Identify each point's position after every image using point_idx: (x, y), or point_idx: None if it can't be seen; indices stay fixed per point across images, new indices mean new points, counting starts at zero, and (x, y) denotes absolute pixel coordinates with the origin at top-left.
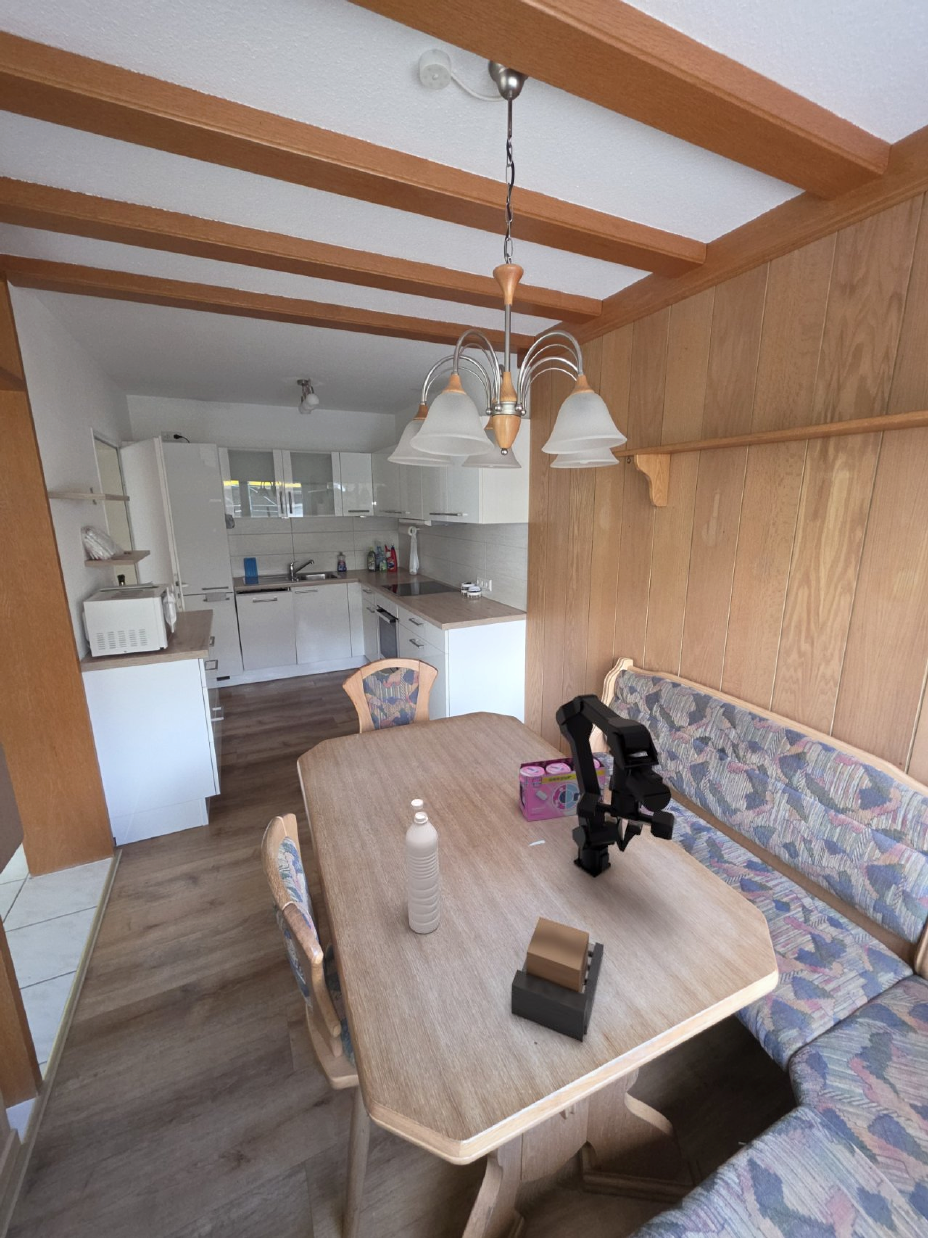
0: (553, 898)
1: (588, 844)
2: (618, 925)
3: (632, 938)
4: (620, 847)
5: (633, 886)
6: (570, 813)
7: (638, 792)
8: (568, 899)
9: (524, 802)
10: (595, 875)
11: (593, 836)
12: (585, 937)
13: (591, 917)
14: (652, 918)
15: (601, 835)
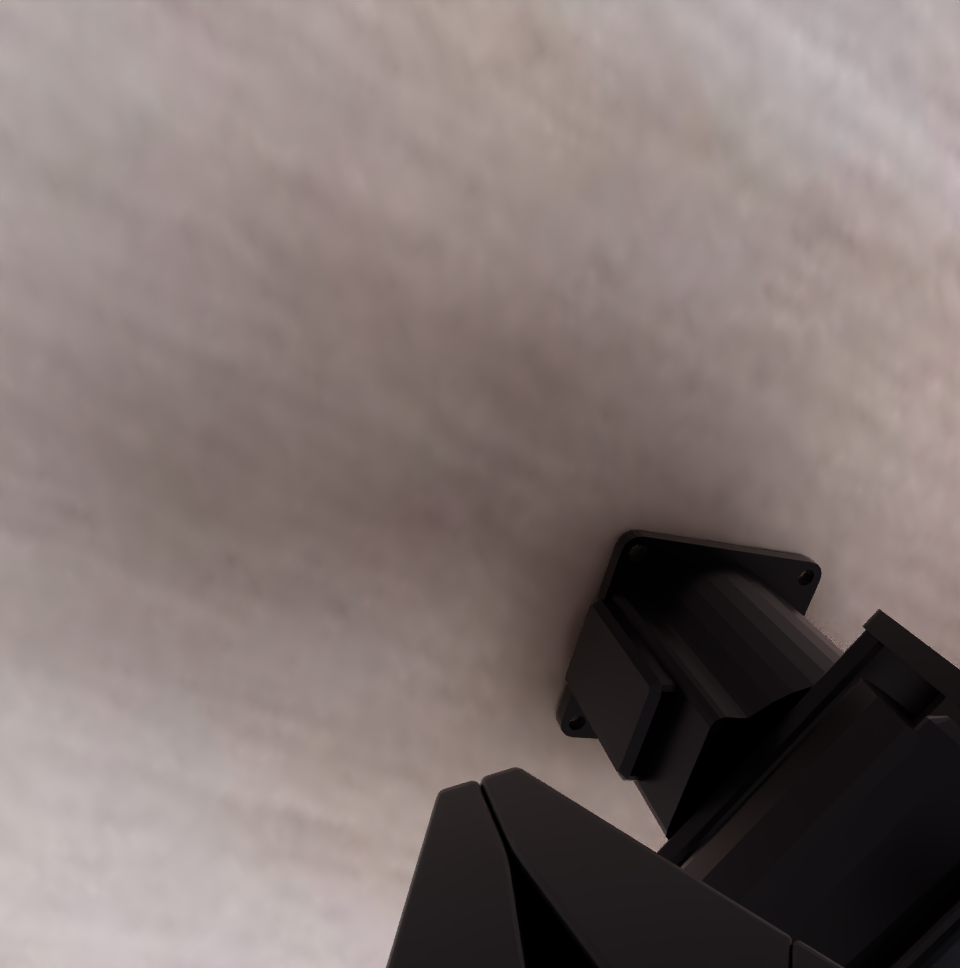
0: (845, 86)
1: (882, 694)
2: (229, 148)
3: (35, 66)
4: (533, 833)
5: (327, 656)
6: None
7: None
8: (729, 163)
9: None
10: (625, 550)
11: (952, 794)
12: None
13: (480, 80)
14: (19, 440)
15: (855, 881)
